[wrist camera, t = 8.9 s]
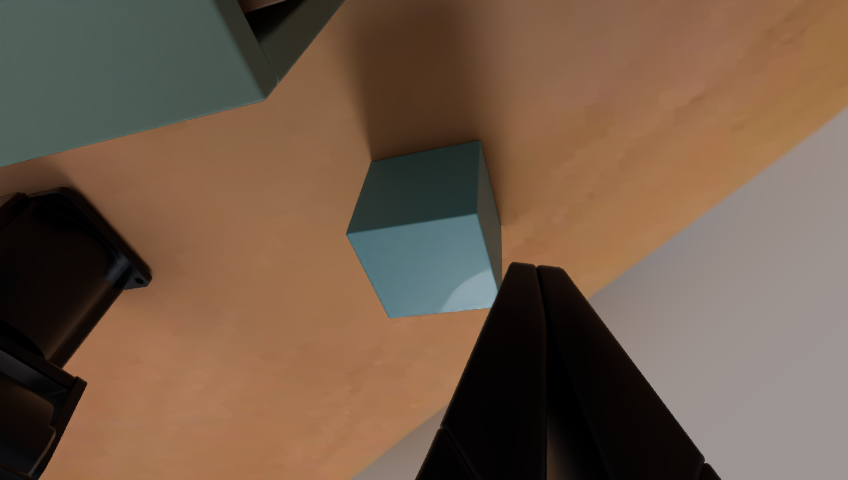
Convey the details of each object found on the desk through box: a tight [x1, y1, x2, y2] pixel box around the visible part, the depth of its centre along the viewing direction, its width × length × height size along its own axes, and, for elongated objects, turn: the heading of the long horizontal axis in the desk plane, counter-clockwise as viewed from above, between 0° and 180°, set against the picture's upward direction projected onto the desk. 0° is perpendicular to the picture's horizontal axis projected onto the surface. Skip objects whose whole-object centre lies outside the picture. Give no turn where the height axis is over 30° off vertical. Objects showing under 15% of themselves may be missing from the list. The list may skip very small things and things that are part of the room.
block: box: [346, 140, 502, 318], centre depth 19 cm, size 5×5×5 cm
